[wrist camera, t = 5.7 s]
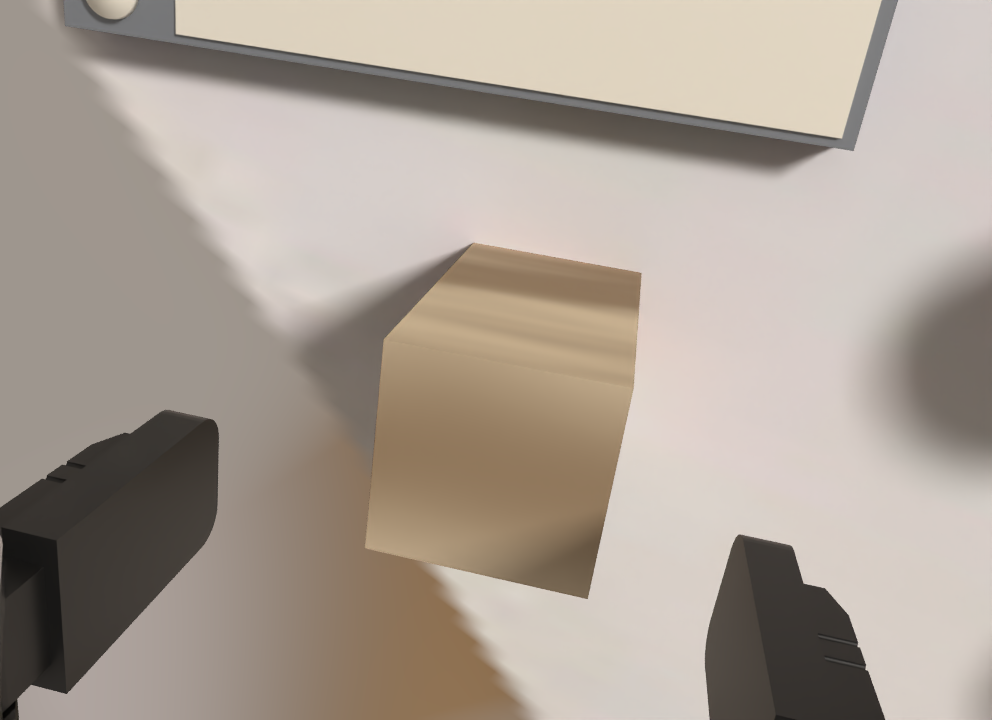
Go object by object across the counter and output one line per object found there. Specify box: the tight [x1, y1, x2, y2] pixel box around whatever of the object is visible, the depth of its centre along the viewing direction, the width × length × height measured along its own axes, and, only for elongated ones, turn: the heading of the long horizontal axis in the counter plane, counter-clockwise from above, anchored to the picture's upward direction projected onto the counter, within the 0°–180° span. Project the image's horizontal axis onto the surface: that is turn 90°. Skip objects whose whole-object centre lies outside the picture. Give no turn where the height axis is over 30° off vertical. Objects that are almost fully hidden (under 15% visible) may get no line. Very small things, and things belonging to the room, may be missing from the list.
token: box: [365, 243, 641, 599], centre depth 17 cm, size 4×4×7 cm
